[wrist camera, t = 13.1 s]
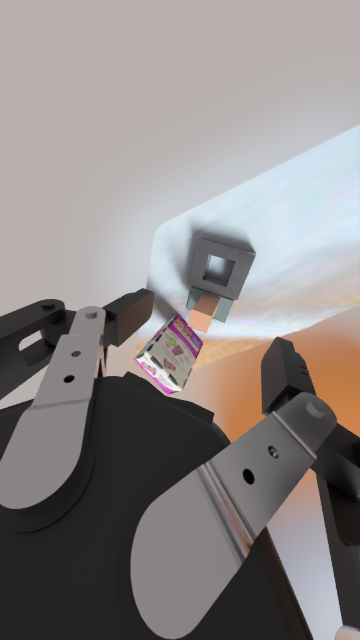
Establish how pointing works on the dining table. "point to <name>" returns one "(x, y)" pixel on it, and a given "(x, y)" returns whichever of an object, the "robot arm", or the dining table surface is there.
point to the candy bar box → (170, 355)
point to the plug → (203, 312)
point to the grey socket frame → (227, 252)
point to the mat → (222, 306)
